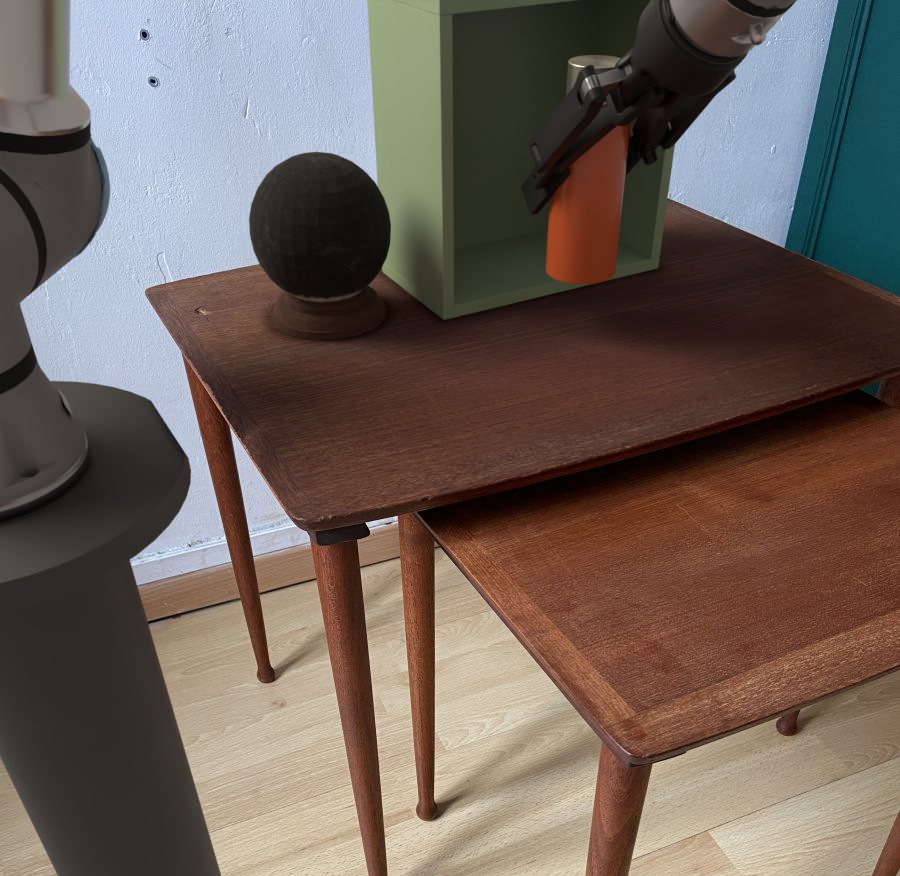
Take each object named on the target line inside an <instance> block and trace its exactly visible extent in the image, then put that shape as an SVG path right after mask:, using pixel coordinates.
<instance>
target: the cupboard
mask: <svg viewBox="0 0 900 876" xmlns="http://www.w3.org/2000/svg"><path fill="white" fill-rule="evenodd" d="M366 1H367V20H368V38H369V39H368V40H369V56H370V73H371V75H370V76H371V88H372V89H371V93H372V110H373V127H374V128H373V129H374V146H375V148H374V149H375V164H376V182H377V183H376V184H377V186H378V188H379V190H380V191H381V193H382V195H383V197H384V199H385V202H386V205H387V208H388V211H389V215H390V222H391V238H390V247H389V251H388V255H387V258H386V260H385V262H384V264H383V266H382V268H381V270H382V273H383V274H384V275H386V276H387V277H388V278H389V279H391V280H392V281H393V282H394V283H396V285H399V286H400V287H401V289H403V290H405V291H406V292H407V293H409V294H410V295H411V296H413V297H414V298H415V299H416V300H417V301H419V302H420V303H421V304H423V305H424V306H425V307H427V308H428V309H429V310H430V311H432V312H433V313H434V314H435V315H437V317H439V318H441V319H442V320H443V321H446V320H449V319H453V318H458V317H462V316H466V315H471V314H474V313H479V312H483V311H487V310H492V309H496V308H499V307H504V306H508V305H511V304H516V303H520V302H524V301H525V302H526V301H529V300H533V299H537V298H540V297H546V296H549V295H554V294H557V293H562V292H565V291H571V290H574V289H579V288H582V287H587V286H591V285H592V284H571V283H565V282H561V281H558V280H556V279H554V278H552V277H550V276H549V275H548V274H547V273H546V253H547V235H548V217H549V201H548V202H547V203H546V204H545V206H544V207H543V208H542V209H541V211H540V212H539V213H538V214H533V215H531V213H530V211H529V208H528V205H527V203H526V200H525V197H524V195H523V192H522V189H521V186H522V184H523V183H524V182H525V180H526V179H527V177H528V176H529V175H530V171H531V170H532V168H533V167H534V165H535V161H534V158H533V155H532V153H531V150H530V147H529V145H528V143H529V141H530V140H531V139H532V138H533V136H534V135H535V134H536V133H537V131H538V130H539V129H540V128H541V126H542V125H543V124H544V123H545V121H546V120H547V119H548V118H549V116H550V115H551V114H552V113H553V111H554V110H555V109H556V108H557V107H558V105H559V104H560V103H561V102H562V100H563V99H564V98H565V97H566V90H567V74H568V61H569V60H570V59H571V58H574V57H578V56H585V55H606V56H614V57H618V58H622V57H623V56H624V55H626V54H627V53H628V52H629V51H630V50H631V49H632V48H633V47H634V43H635V39H636V34H637V28H638V23H639V20H640V17H641V15H642V13H643V11H644V9H645V8H646V7H647V5H648V4H649V3H650V1H651V0H366ZM625 110H626V108H625ZM636 119H637V118H636ZM636 119H634V120H633V121H632V122H631V126H630V136H631V137H632V136H633V132H632V128H633V126H634V124H635V121H636ZM669 125H670V122H669ZM670 127H671V125H670ZM675 147H676V144H675V145H674V146H672V147H671V148H669V149H665V150H664V149H662V146H661V145H660V146H657V148H656V150H655V152H656V155H657V158H658V160H657V161H656V162H654V163H652V164H650V165H645V164H644V161H643V159H642V158H641V159H640V160H639V162H638V163H637V164H636V165H635V166H634V167H633V168H632V169H631V170H630V172H629V173H628V174H627V175H626V176H625V183H624V193H623V202H622V212H621V222H620V231H619V241H618V251H617V260H616V270H615V274H614V276H613V277H612V278H610V279H608V280H606V281H605V282H607V281H611V280H615V279H620V278H625V277H628V276H633V275H637V274H640V273H645V272H649V271H652V270H657V269H659V265H660V257H661V252H662V251H661V249H662V243H663V237H664V236H663V234H664V228H665V221H666V215H667V214H666V213H667V205H668V199H669V192H670V191H669V190H670V184H671V177H672V176H671V175H672V171H673V170H672V169H673V162H674V155H675V154H674V153H675ZM594 284H596V283H594ZM594 284H593V285H594Z"/></svg>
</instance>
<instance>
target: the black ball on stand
mask: <svg viewBox="0 0 900 876" xmlns="http://www.w3.org/2000/svg"><path fill="white" fill-rule="evenodd" d="M250 204H251V205H250V210H249V215H248V216H249V217H248V225H249V238H250V241H251V246H252V250H253V253H254V256H255V257H256V260H257V261H258V264H259V265H260V267H261V268H262V270H263V271H264V272H265V274H266V275H267V276H268V278H269V279H270V280H271V282H273V283H274V284H275V285H276V286H277V287H278V288H279V289H281V290H282V292H281V293H280V294H279V295H278V296H277V298H276V300H275V302H274V304H273V305H272V306H271V310H270V313H271V318H272V319H271V320H272V324H273V325H274V327H275V328H276V329H277V330H279V331H280V332H281V333H283V334H286V335H288V336H291V337H294V338H298V339H304V340H313V341H333V340H342V339H347V338H352V337H356V336H359V335H363V334H365V333H367V332H370V331H372V330H373V329H375V328H377V327H378V326H379V325H380V324H381V323H382V322H384V319H385V317H386V304H385V301H384V300H383V298H382V297H381V296H380V295H379V293H378V292H377V290H376V289H374V288H373V287H372V286H369V285H370V284H371V283H372V282H373V281H375V279H376V277H377V276H378V275H379V274H380V272H381V270H382V266H383V264H384V262H385V260H386V258H387V255H388V251H389V247H390V238H391V222H390V215H389V211H388V208H387V205H386V202H385V199H384V197H383V195H382V193H381V191H380V190H379V188H378V184H377V183H376V181H374V179H373V178H372V177H371V176H370V174H369V173H368V172H366V171H365V170H364V169H363V168H362V167H360V166H359V165H358V164H357V163H355V162H353V160H350V159H348V158H345V157H343V156H341V155H339V154H335V153H333V152H325V151H324V152H323V151H310V152H303V153H299V154H295V155H292V156H290V157H288V158H286V159H285V160H283V161H282V162H281V161H280V162H279V163H278V164H276V165H275V166H274V167H273V168H272V169H270V171H268V173H266V175H265V176H264V178H263V179H262V181H260V183H259V185H258V187H257V188H256V190H255V194H254V196H253V199H252V201H251V203H250Z"/></svg>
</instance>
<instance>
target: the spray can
mask: <svg viewBox="0 0 900 876" xmlns="http://www.w3.org/2000/svg"><path fill="white" fill-rule="evenodd" d="M619 59H621V58H618V57H614V56H606V55H585V56H578V57H574V58H571V59H570V60H569V61H568V74H567V90H566V95H567V94H568V93H569V92H570V90H571V89H572V88H573V87H574V84H575V82H576V79H577V76H578V74H579V72H580V70H581V69H583V68H584V67H586V66H588V65H593V66H594V67H595V70H596V73H597V75H598V74H601V73H604V72H607V71H611V70H614V67H615V65H616V63H617V62H618V61H619ZM630 126H631V123H630V124H628V125H627V126H617V127H615V128H614V129H613V130H612V131H611V132H609V133H608V134H607V135H606V136H605V137H603V138H602V139H601V140H600V141H599V142H598V143H596V144H595V145H594V146H593V147H592V148H590V149H589V150H588V151H587V152H586V153H584V154H583V155H582V156H581V157H580V158H579V159H577V160H576V161H575V162H574V163H573V164H571V165H570V166H569V170H570V175H569V176H568V177H567V178H566V180H565V181H564V182H563V183H562V185H561V186H560V187H559V188H558V189H557V191H556V192H555V193H554V194H553V196H552V197H551V198H550V199H549V217H548V235H547V253H546V273H547V274H548V275H549V276H550V277H552V278H554V279H556V280H558V281H561V282H565V283H571V284H591V285H594V283H595V284H599V283H604V282H607V281H606V280H608V279H610V278H612V277H613V276H614V274H615V270H616V260H617V251H618V241H619V231H620V222H621V212H622V202H623V193H624V183H625V174H626V164H627V154H628V145H629V135H630ZM608 281H609V280H608Z"/></svg>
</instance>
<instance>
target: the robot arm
mask: <svg viewBox="0 0 900 876" xmlns="http://www.w3.org/2000/svg"><path fill="white" fill-rule="evenodd" d="M71 1H72V0H0V522H3V521H7V520H11V519H14V518H17V517H20V516H23V515H26V514H28V513H31V512H33V511H36V510H38V509H40V508H42V507H44V506H46V505H48V504H50V503H52V502H53V501H55V500H57V499H58V498H60V497H61V496H63V495H64V494H65V493H67V492H68V491H69V490H71V489H72V488H73V487H74V486H75V485H76V484H77V483H78V482H79V481H80V480H81V479H82V477H83V476H84V475H85V473H86V472H87V470H88V468H89V465H90V462H91V450H90V446H89V443H88V440H87V436H86V433H85V431H84V429H83V427H82V425H81V423H80V421H79V420H78V418H77V417H76V416H75V414H74V413H73V412H72V410H71V409H70V406H69V403H68V401H67V399H66V398H65V396H64V395H63V394H62V392H61V391H60V389H59V391H60V394H61V395H60V394H59V392H58V391H57V390H56V388H55V387H54V386H53V384H52V383H51V382H50V381H51V380H50V378H49V377H48V376H47V375H46V373H45V372H44V370H43V369H42V368H41V365H40V364H39V361H38V357H37V354H36V352H35V349H34V346H33V342H32V339H31V336H30V332H29V329H28V326H27V322H26V320H25V319H26V318H25V317H24V313H23V310H22V307H21V303H22V302H23V301H24V300H25V299H26V298H28V297H29V296H30V295H31V294H32V293H34V292H35V291H36V290H37V289H39V288H40V287H41V286H42V285H44V283H46V282H47V281H48V280H49V279H50V278H52V277H53V276H54V275H55V274H56V273H57V272H59V271H60V270H61V269H62V268H64V267H65V266H66V265H68V263H70V262H71V261H72V260H73V259H75V258H77V257H78V256H80V255H81V254H82V253H83V252H84V251H85V250H86V249H87V248H88V246H89V245H90V244H91V242H92V241H93V240H94V238H95V237H96V235H97V233H98V231H99V230H100V228H101V227H102V225H103V223H104V220H105V219H106V216H107V213H108V210H109V206H110V198H111V181H110V173H109V170H108V166H107V162H106V159H105V156H104V154H103V151H102V150H101V148H100V147H99V146H97V145H96V144H95V142H94V139H93V138H92V133H91V130H92V128H91V127H92V125H91V124H92V115H91V114H92V112H91V109H90V106H89V105H88V104H87V102H86V101H85V100H84V98H82V96H81V95H80V94H79V93H78V92H77V91H76V89H74V87H73V86H72V85H71V4H72V3H71ZM797 1H798V0H651V1H650V3H649V4H648V5H647V7H646V8H645V9H644V11H643V13H642V15H641V17H640V20H639V23H638V28H637V34H636V39H635V43H634V47H633V48H632V49H631V50H630V51H629V52H628V53H627V54H626V55H624V56H623V57H622V58H621V59H619V61H618V62H617V63H616V65H615V67H614V70H611V71H607V72H604V73H601V74H598V75H597V73H596V70H595V67H594V66H593V65H588V66H586V67H584V68H583V69H581V70H580V72H579V74H578V76H577V79H576V82H575V84H574V87H573V88H572V89H571V90H570V92H569V93H568V94H567V95H566V97H565V98H564V99H563V100H562V102H561V103H560V104H559V105H558V107H557V108H556V109H555V110H554V111H553V113H552V114H551V115H550V116H549V118H548V119H547V120H546V121H545V123H544V124H543V125H542V126H541V128H540V129H539V130H538V131H537V133H536V134H535V135H534V136H533V138H532V139H531V140H530V141H529V143H528V145H529V147H530V150H531V153H532V155H533V158H534V161H535V165H534V167H533V168H532V170H531V171H530V175H529V176H528V177H527V179H526V180H525V182H524V183H523V184H522V186H521V189H522V192H523V195H524V197H525V200H526V203H527V205H528V208H529V211H530V213H531V215H533V214H538V213H539V212H540V211H541V209H542V208H543V207H544V206H545V204H546V203H547V202H548V201H549V199H550V198H551V197H552V196H553V194H554V193H555V192H556V191H557V189H558V188H559V187H560V186H561V185H562V183H563V182H564V181H565V180H566V178H567V177H568V176H569V175H570V170H569V166H570V165H571V164H573V163H574V162H575V161H576V160H577V159H579V158H580V157H581V156H582V155H583V154H584V153H586V152H587V151H588V150H589V149H590V148H592V147H593V146H594V145H595V144H596V143H598V142H599V141H600V140H601V139H602V138H603V137H605V136H606V135H607V134H608V133H609V132H611V131H612V130H613V129H614V128H615V127H617V126H627V125H628V124H630V123H631V122H632V121H633V120H634V119H636V118H637V119H636V121H635V124H634V126H633V128H632V132H633V136H632V137H631V136H630V135H629V145H628V154H627V164H626V174H625V176H626V175H627V174H628V173H629V172H630V170H631V169H632V168H633V167H634V166H635V165H636V164H637V163H638V162H639V160H640V159H641V158H642V159H643V161H644V164H645V165H650V164H652V163H654V162H656V161H657V160H658V158H657V155H656V152H655V150H656V148H657V146H660V145H661V146H662V149H664V150H665V149H669V148H671V147H672V146H674V145H675V146H676V144H677V143H678V141H679V140H680V139H681V138H682V136H683V135H684V134H685V133H686V132H687V131H688V130H689V128H690V127H691V126H692V125H693V124H694V122H695V121H696V120H697V119H698V117H699V116H700V115H701V114H702V113H703V112H704V110H705V109H706V108H707V107H708V105H709V104H710V103H711V102H712V101H713V100H714V98H715V97H716V96H717V95H718V94H719V93H720V92H722V91H723V90H724V89H725V88H727V86H729V85H730V84H731V83H732V82H734V81H735V80H736V78H737V73H736V71H735V70H736V69H737V67H738V66H739V65H740V64H741V63H742V62H743V61H744V60H745V58H747V55H748V54H749V52H750V51H752V50H753V49H754V48H755V47H756V46H760V45H762V43H764V42H765V41H766V39H767V34H768V33H769V32H770V30H772V29H773V27H774V26H775V25H776V24H777V23H778V22H779V21H780V20H781V18H782V17H783V16H784V15H785V14H786V13H787V12H788V11H789V10H790V9H791V8H792V7H793V5H794V4H795V3H796V2H797ZM625 108H626V110H625ZM669 122H670V125H671V127H670V125H669ZM61 396H62V397H61Z"/></svg>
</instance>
